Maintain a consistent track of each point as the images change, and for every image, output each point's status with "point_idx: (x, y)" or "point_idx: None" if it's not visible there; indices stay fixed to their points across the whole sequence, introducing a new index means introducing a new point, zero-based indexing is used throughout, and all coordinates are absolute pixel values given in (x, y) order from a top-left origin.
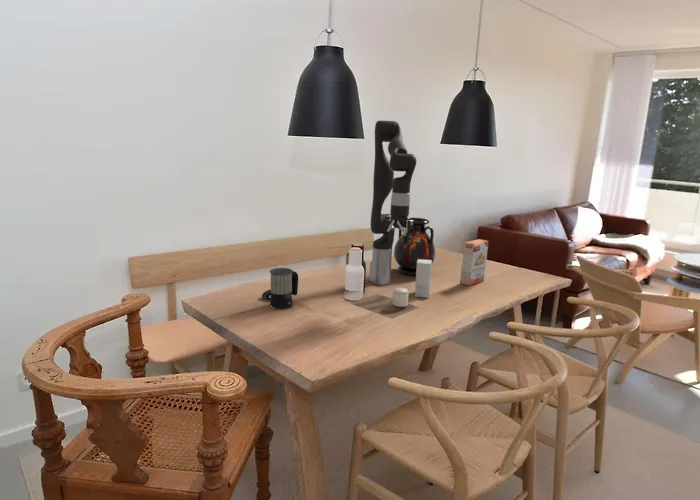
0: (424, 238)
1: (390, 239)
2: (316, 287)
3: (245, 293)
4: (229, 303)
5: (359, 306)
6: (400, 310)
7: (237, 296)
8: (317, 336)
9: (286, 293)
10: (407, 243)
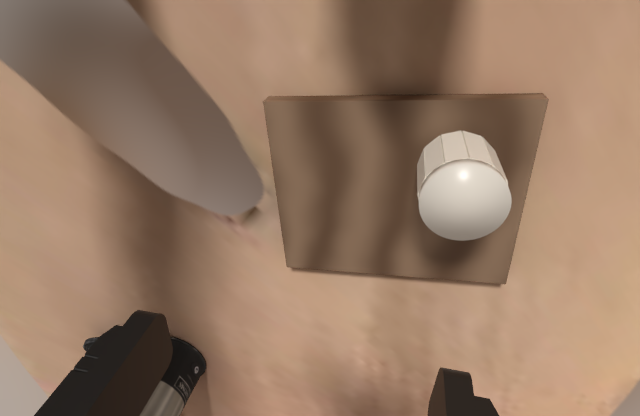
0: None
1: (158, 357)
2: (56, 193)
3: (57, 348)
4: None
5: (333, 269)
6: None
7: None
8: None
9: (183, 404)
10: (484, 410)
